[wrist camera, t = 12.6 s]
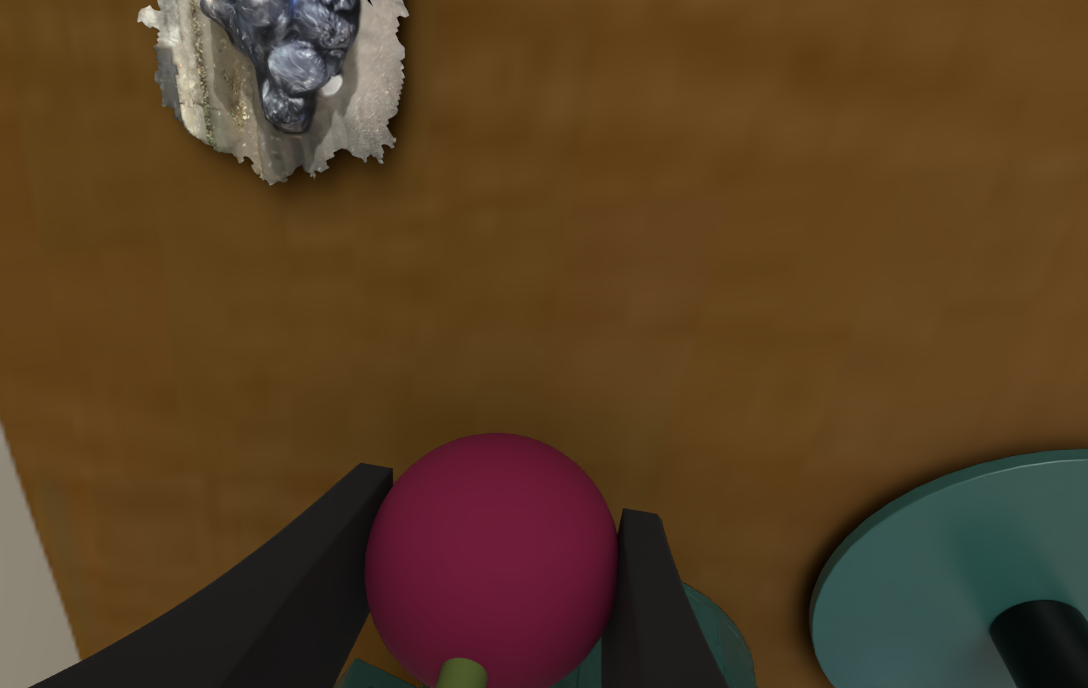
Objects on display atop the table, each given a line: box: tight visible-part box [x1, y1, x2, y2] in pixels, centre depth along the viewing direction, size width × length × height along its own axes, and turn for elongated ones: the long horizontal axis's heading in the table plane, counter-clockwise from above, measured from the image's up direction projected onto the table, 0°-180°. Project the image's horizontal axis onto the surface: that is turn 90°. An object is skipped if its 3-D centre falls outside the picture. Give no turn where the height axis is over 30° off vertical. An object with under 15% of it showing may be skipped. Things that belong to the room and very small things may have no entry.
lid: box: [809, 449, 1088, 688], centre depth 17 cm, size 12×12×5 cm
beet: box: [364, 433, 619, 688], centre depth 11 cm, size 4×4×5 cm
